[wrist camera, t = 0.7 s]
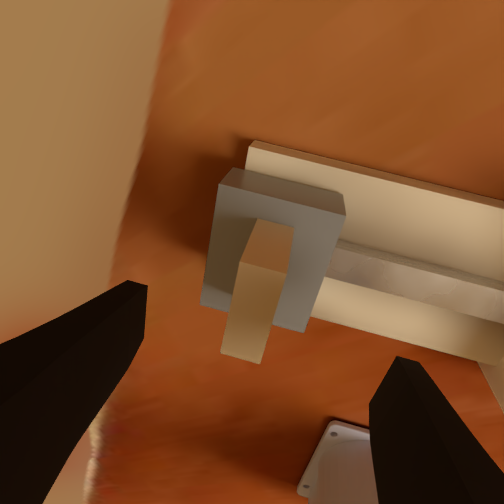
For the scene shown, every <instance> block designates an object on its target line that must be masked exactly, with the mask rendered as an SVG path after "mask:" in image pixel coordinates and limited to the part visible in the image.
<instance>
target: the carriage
mask: <svg viewBox="0 0 504 504" xmlns="http://www.w3.org/2000/svg"><path fill="white" fill-rule="evenodd" d="M345 219H346V210H345V204H344V198H343V194H339V193H335V192H331V191H327V190H323V189H319V188H315V187H311V186H307V185H303V184H299V183H295V182H291V181H287V180H283V179H279V178H275V177H271V176H267V175H263V174H259V173H255V172H251V171H247V170H243V169H239V168H235V167H233V168H232V169H231V170H230V171H229V172H228V173H227V175H226V176H225V177H224V178H223V179H222V180H221V182H220V183H219V186H218V192H217V198H216V205H215V211H214V217H213V224H212V230H211V236H210V243H209V249H208V255H207V261H206V268H205V274H204V280H203V287H202V293H201V299H200V305H203V306H207V307H210V308H214V309H217V310H221V311H225V312H228V313H229V314H228V318H227V323H226V328H225V332H224V337H223V342H222V347H221V351H220V353H222V354H225V355H229V356H232V357H236V358H240V359H243V360H247V361H250V362H254V363H257V364H260V362H261V359H262V355H263V352H264V349H265V345H266V342H267V339H268V335H269V332H270V329H271V325H276V326H279V327H283V328H287V329H290V330H294V331H298V332H301V333H304V331H305V328H306V326H307V323H308V320H309V317H310V315H311V312H312V309H313V306H314V304H315V301H316V298H317V295H318V293H319V290H320V287H321V284H322V282H323V279H324V276H325V273H326V271H327V268H328V265H329V263H330V260H331V257H332V254H333V252H334V249H335V246H336V243H337V241H338V238H339V235H340V232H341V230H342V227H343V224H344V221H345Z"/></svg>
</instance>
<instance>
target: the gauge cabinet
mask: <svg viewBox="0 0 504 504" xmlns="http://www.w3.org/2000/svg"><path fill="white" fill-rule="evenodd" d="M477 363H478V365H479V367H480V369H481V371H482V373H483V375H484V376H485V378H486V380H487V382H488V384H489V386H490V388H491V390H492V392H493V394H494V396H495V398H496V400H497V401H498V403H499V405H500V407H501V409H502V411H503V413H504V357H503V358H502V359H501V361H500V362H499V363H498V364H497V366H493V365H489V364H485V363H481V362H478V361H477Z"/></svg>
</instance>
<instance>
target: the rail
mask: <svg viewBox="0 0 504 504" xmlns="http://www.w3.org/2000/svg"><path fill="white" fill-rule="evenodd" d="M324 277H328V278H332V279H335V280H339V281H343V282H347V283H350V284H354V285H358V286H362V287H366V288H369V289H373V290H377V291H381V292H384V293H388V294H392V295H396V296H400V297H403V298H407V299H411V300H415V301H419V302H422V303H426V304H430V305H434V306H437V307H441V308H445V309H449V310H453V311H456V312H460V313H464V314H468V315H471V316H475V317H479V318H483V319H487V320H490V321H494V322H498V323H502V324H504V282H503V281H499V280H495V279H491V278H488V277H484V276H480V275H476V274H472V273H468V272H464V271H460V270H457V269H453V268H449V267H445V266H441V265H437V264H433V263H429V262H426V261H422V260H418V259H414V258H410V257H406V256H402V255H398V254H394V253H391V252H387V251H383V250H379V249H375V248H371V247H367V246H363V245H360V244H356V243H352V242H348V241H344V240H340V239H338V241H337V243H336V246H335V249H334V252H333V254H332V257H331V260H330V263H329V265H328V268H327V271H326V273H325V276H324Z"/></svg>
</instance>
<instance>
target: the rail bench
mask: <svg viewBox="0 0 504 504" xmlns="http://www.w3.org/2000/svg"><path fill="white" fill-rule="evenodd" d="M245 170H247V171H251V172H255V173H259V174H263V175H267V176H271V177H275V178H279V179H283V180H287V181H291V182H295V183H299V184H303V185H307V186H311V187H315V188H319V189H323V190H327V191H331V192H335V193H339V194H343V198H344V204H345V210H346V219H345V221H344V224H343V227H342V230H341V232H340V235H339V238H338V239H340V240H344V241H348V242H352V243H356V244H360V245H363V246H367V247H371V248H375V249H379V250H383V251H387V252H391V253H394V254H398V255H402V256H406V257H410V258H414V259H418V260H422V261H426V262H429V263H433V264H437V265H441V266H445V267H449V268H453V269H457V270H460V271H464V272H468V273H472V274H476V275H480V276H484V277H488V278H491V279H495V280H499V281H503V282H504V201H502V200H498V199H494V198H489V197H485V196H481V195H477V194H473V193H469V192H465V191H461V190H457V189H453V188H449V187H445V186H441V185H436V184H432V183H428V182H424V181H420V180H416V179H412V178H408V177H404V176H400V175H396V174H392V173H388V172H384V171H379V170H375V169H371V168H367V167H363V166H359V165H355V164H351V163H347V162H343V161H339V160H335V159H331V158H326V157H322V156H318V155H314V154H310V153H306V152H302V151H298V150H294V149H290V148H286V147H282V146H278V145H273V144H269V143H265V142H261V141H257V140H254V141H253V142H252V143H251V145H250V146H249V149H248V154H247V159H246V164H245ZM310 316H312V317H316V318H319V319H323V320H327V321H330V322H334V323H338V324H341V325H345V326H349V327H352V328H356V329H360V330H364V331H367V332H371V333H375V334H378V335H382V336H386V337H389V338H393V339H397V340H400V341H404V342H408V343H411V344H415V345H419V346H422V347H426V348H430V349H434V350H437V351H441V352H445V353H448V354H452V355H456V356H459V357H463V358H467V359H470V360H474V361H478V362H481V363H485V364H489V365H493V366H497V364H498V363H499V362H500V361H501V359H502V358H503V357H504V324H502V323H498V322H494V321H490V320H487V319H483V318H479V317H475V316H471V315H468V314H464V313H460V312H456V311H453V310H449V309H445V308H441V307H437V306H434V305H430V304H426V303H422V302H419V301H415V300H411V299H407V298H403V297H400V296H396V295H392V294H388V293H384V292H381V291H377V290H373V289H369V288H366V287H362V286H358V285H354V284H350V283H347V282H343V281H339V280H335V279H332V278H328V277H324V279H323V282H322V284H321V287H320V290H319V293H318V295H317V298H316V301H315V304H314V306H313V309H312V312H311V315H310Z"/></svg>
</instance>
